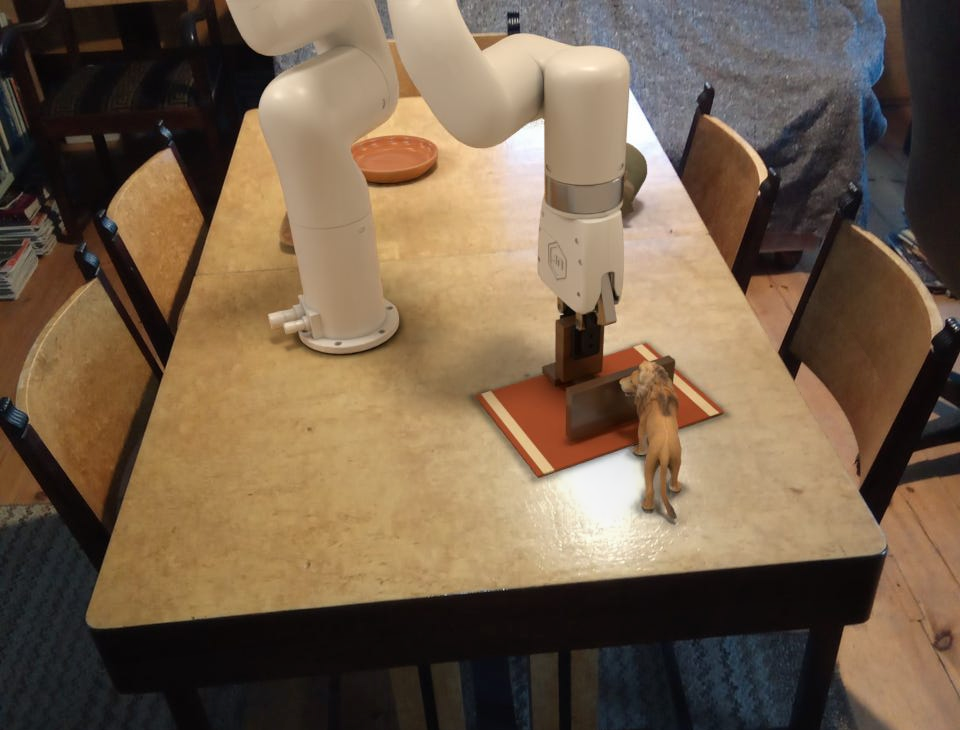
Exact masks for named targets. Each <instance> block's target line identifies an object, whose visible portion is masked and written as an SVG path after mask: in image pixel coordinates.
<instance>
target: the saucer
mask: <svg viewBox="0 0 960 730" xmlns="http://www.w3.org/2000/svg"><path fill="white" fill-rule="evenodd" d="M351 154H352V156H353V158H354V160H355V162H356V163H357V165H358V166H359V168H360V169H361V171H362V173H363V175H364V177H365V179H366V182H371V183H378V184H392V183H393V184H394V183H401V182H407V181H411V180H414V179H417V178H419V177H421V176H423V175H424V174H426V172H427V171H429V169H430V168H432V166H433V165H434V164H435V163H436V162H437V160H438V157H439V148H438V146H437V145H436V144H435V142H433V141H432V140H429V139H427V138H423V137H420V136H414V135H406V134H405V135H403V134H393V135H381V136H375V137H371V138H367V139H364V140H360V141H357V142H355V143H354V144H352V145H351Z"/></svg>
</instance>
